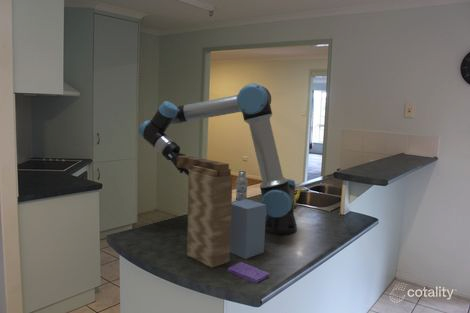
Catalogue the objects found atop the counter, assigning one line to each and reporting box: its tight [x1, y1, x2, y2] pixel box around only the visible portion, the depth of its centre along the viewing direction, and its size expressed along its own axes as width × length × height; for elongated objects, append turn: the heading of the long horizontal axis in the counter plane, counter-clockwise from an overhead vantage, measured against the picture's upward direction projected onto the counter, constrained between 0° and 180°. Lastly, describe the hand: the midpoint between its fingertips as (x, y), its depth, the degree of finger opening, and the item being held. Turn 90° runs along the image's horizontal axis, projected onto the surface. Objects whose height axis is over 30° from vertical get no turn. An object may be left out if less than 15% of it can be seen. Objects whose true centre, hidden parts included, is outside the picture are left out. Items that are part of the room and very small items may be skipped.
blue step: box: [230, 198, 267, 260], centre depth 143 cm, size 10×10×18 cm
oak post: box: [186, 165, 234, 269], centre depth 134 cm, size 14×8×33 cm, turn 44°
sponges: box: [226, 261, 270, 284], centre depth 125 cm, size 7×13×2 cm, turn 48°
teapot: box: [294, 186, 304, 206], centre depth 209 cm, size 14×14×12 cm
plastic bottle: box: [234, 170, 249, 202], centre depth 202 cm, size 6×7×20 cm
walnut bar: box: [177, 154, 230, 177], centre depth 136 cm, size 24×4×4 cm, turn 44°
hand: (203, 180), depth 157 cm, fingers open, 13 cm apart
